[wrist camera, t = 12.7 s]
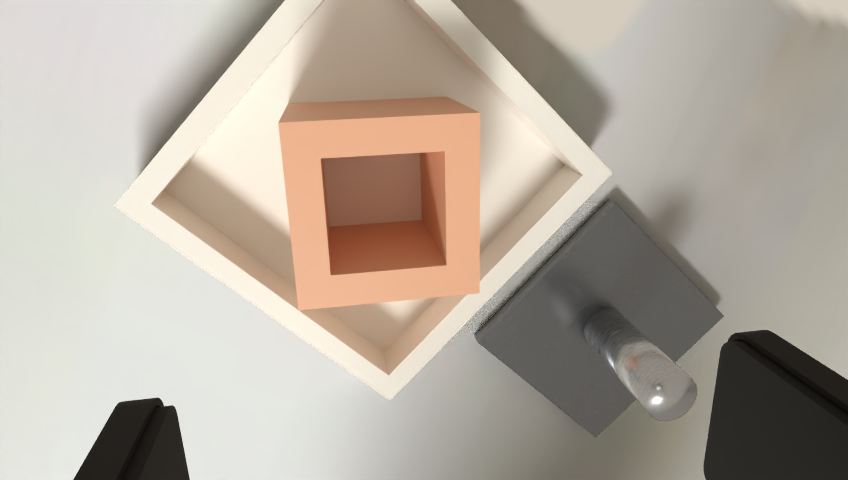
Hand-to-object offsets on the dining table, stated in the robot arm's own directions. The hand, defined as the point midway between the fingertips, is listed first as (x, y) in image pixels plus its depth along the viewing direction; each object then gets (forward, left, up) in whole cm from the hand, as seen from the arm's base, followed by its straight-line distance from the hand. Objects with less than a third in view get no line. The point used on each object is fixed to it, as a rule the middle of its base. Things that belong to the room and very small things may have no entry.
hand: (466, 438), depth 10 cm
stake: (-15, -2, -19) cm, 24 cm away
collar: (0, 0, -18) cm, 18 cm away
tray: (0, 0, -19) cm, 19 cm away
